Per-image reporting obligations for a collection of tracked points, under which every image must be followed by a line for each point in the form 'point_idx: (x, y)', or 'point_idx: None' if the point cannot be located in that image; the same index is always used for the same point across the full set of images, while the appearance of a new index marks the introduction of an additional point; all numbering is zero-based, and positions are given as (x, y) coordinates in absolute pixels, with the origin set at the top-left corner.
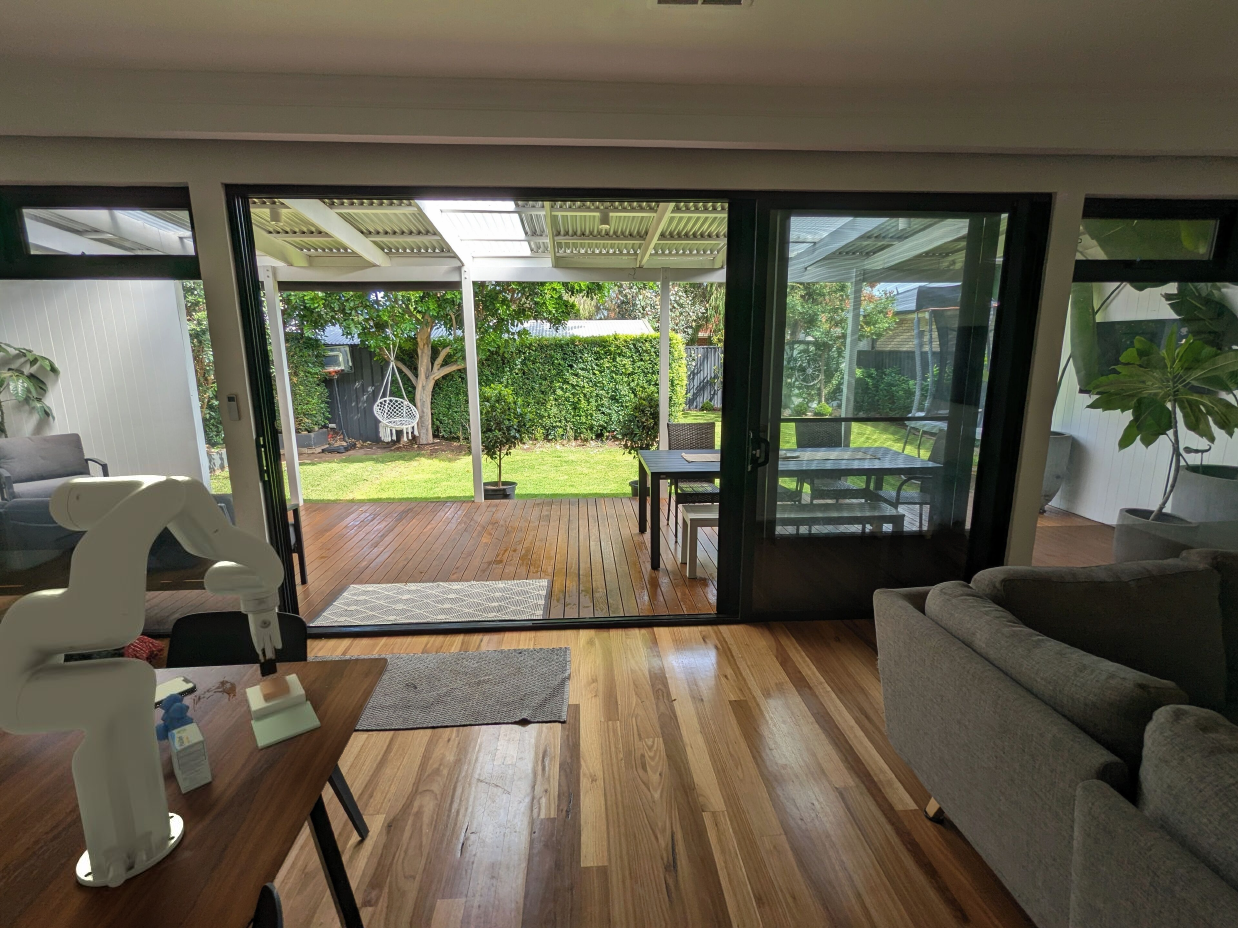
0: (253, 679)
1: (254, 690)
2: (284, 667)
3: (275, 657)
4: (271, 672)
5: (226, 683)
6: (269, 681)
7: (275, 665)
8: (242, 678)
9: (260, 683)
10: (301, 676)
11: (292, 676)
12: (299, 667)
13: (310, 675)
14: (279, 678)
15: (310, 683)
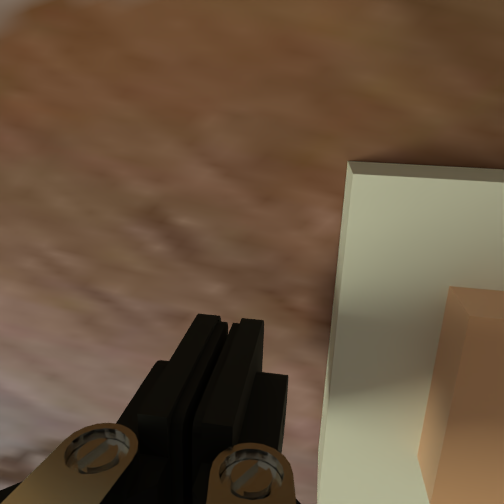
0: (71, 361)
1: (393, 482)
2: (10, 168)
3: (234, 425)
4: (287, 382)
5: (30, 467)
6: (478, 445)
7: (252, 366)
8: (17, 400)
9: (446, 501)
10: (258, 98)
11: (396, 210)
12: (79, 72)
13: (298, 27)
14: (500, 369)
15: (457, 64)
